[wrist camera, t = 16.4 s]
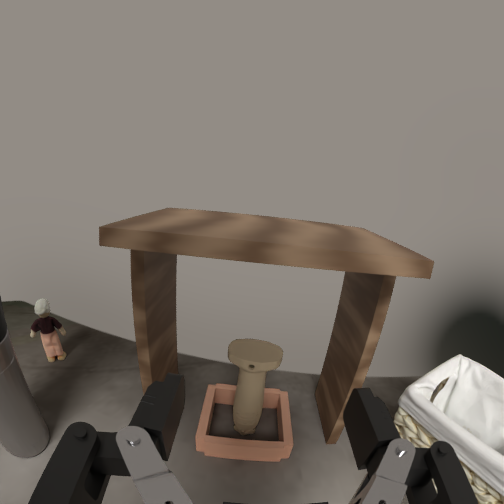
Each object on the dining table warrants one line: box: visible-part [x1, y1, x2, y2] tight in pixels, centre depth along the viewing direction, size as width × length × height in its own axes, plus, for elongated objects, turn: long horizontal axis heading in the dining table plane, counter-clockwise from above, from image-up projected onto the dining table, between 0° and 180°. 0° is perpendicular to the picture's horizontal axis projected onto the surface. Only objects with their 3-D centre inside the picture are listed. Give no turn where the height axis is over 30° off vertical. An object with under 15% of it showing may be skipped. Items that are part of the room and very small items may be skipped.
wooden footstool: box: [99, 208, 434, 444], centre depth 31 cm, size 27×18×30 cm, turn 88°
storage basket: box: [393, 355, 504, 504], centre depth 19 cm, size 24×16×15 cm
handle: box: [228, 339, 283, 436], centre depth 33 cm, size 5×6×15 cm
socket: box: [196, 383, 293, 462], centre depth 34 cm, size 12×12×4 cm
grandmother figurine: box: [30, 299, 66, 362], centre depth 39 cm, size 8×4×13 cm, turn 140°
